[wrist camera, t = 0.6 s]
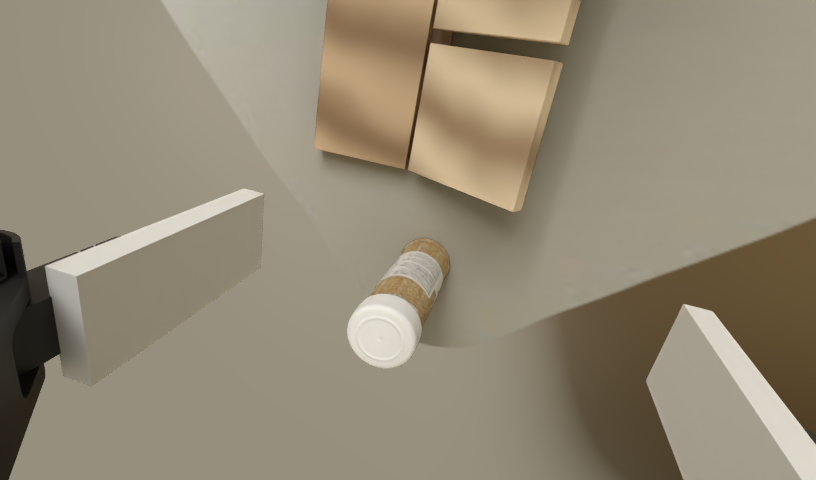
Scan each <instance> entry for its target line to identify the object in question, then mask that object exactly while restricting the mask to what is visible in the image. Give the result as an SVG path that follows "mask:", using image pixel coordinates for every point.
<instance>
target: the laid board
mask: <svg viewBox="0 0 816 480" xmlns="http://www.w3.org/2000/svg"><path fill="white" fill-rule="evenodd" d="M437 4H438V0H328V2H327V12H326V23H325V34H324V44H323V55H322V66H321V76H320V87H319V98H318V108H317V119H316V130H315V140H314V148H315V149H319V150H324V151H328V152H332V153H336V154H341V155H345V156H349V157H354V158H358V159H362V160H367V161H371V162H375V163H379V164H384V165H388V166H392V167H397V168H401V169H406V168H407V167H409V162H410V156H411V151H412V145H413V139H414V134H415V128H416V122H417V117H418V111H419V106H420V100H421V94H422V89H423V83H424V77H425V72H426V66H427V60H428V55H429V49H430V44H431V43H434V44H441V45H448V46H451V41H452V36H453V32H450V31H442V30H439V29H435V28H433V27H434V21H435V15H436V10H437Z"/></svg>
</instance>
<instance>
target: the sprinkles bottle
mask: <svg viewBox="0 0 816 480" xmlns="http://www.w3.org/2000/svg"><path fill="white" fill-rule="evenodd" d="M449 265H450V262H449V257H448V255H447V253H446V251H445V249H444V248H443V247H442V246H441V245H440V244H438V243H437V242H435V241H433V240H430V239H417V240H414V241H412V242H410V243H409V244H408V245H407V246H406V247H405V248H404V249H403V251H402V253H401V256H400V257H398V258H397V259H396V261H395V262H394V263H393V264H392V266H391V267H390V268H389V270H388V271H387V272H386V274H385V275H384V276H383V278H382V279H381V280H380V282H379V283H378V284H377V285H376V287H375V289H374V291H373V292H372V294H371V295H370V296H369V297H368V298H366V299H365V300H364V301H363V302H361V304H360V305H359V306H358V307H357V309H356V310H355V312H354V313H353V315H352V316H351V318H350V320H349V323H348V327H347V336H348V340H349V343H350V345H351V347H352V349H353V351H354V352H355V353H356V354H357V356H359V357H360V358H361V359H362V360H363V361H365V362H366V363H368V364H370V365H372V366H375V367H379V368H395V367H398V366H400V365H402V364H404V363H406V362H407V361H408V360H409V359H410V358H411V357H412V355H413V353H414V352H415V350H416V347H417V345H418V343H419V340H420V338H421V334H422V327H423V324H424V322H425V320H426V318H427V316H428V313H429V312H430V309H431V307H432V305H433V304H434V302H435V300H436V298H437V295H438V293H439V291H440V289H441V286H442V282H443V280H444V278H445V277H446V275H447V273H448V271H449Z"/></svg>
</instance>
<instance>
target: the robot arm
mask: <svg viewBox="0 0 816 480" xmlns="http://www.w3.org/2000/svg"><path fill="white" fill-rule="evenodd" d="M263 207H264V194H263V193H259V192H255V191H251V190H247V189H241V190H239V191H236V192H233V193H231V194H228V195H226V196H223V197H221V198H218V199H215V200H213V201H211V202H208V203H205V204H203V205H200V206H198V207H195V208H192V209H190V210H187V211H185V212H182V213H180V214H177V215H174V216H172V217H169V218H167V219H164V220H162V221H159V222H156V223H154V224H152V225H149V226H146V227H144V228H141V229H138V230H136V231H133V232H131V233H128V234H126V235H123V236H119V237H114V238H111V239H109V240H107V241H104V242H101V243H99V244H96V246H95V247H94V246H91V247H88V248H86V249H83V250H81V251H80V253H78V252H75V253H73V254H70V255H68V256H65V257H62V258H60V259H57V260H55V261H52V262H50V263H47V264H44V265H42V266H39V267H37V268H34V269H31V270H29V271H26V265H25V260H24V255H23V249H22V244H21V239H20V236H18V235H17V234H15V233H13V232H9V231H5V230H0V480H9V477H10V474H11V471H12V468H13V466H14V463H15V460H16V457H17V455H18V451H19V449H20V446H21V443H22V441H23V438H24V435H25V432H26V429H27V427H28V424H29V421H30V418H31V416H32V413H33V410H34V407H35V404H36V402H37V399H38V396H39V393H40V390H41V388H42V385H43V382H44V379H45V367H44V363H45V362H46V361H48V360H50V359H52V358H53V357H55V356H57V355H58V354H60V360H61V366H62V372H63V376H65V377H68V378H70V379H73V380H76V381H78V382H81V383H84V384H86V385H89V386H93V385H94V384H96V383H97V382H99V381H100V380H101V379H103V378H105V377H106V376H107V375H109V374H110V373H112V372H113V371H114V370H116V369H117V368H119V367H120V366H121V365H123V364H124V363H126V362H127V361H129V360H130V359H131V358H133V357H134V356H136V355H137V354H138V353H140V352H141V351H143V350H144V349H146V348H147V347H148V346H150V345H151V344H153V343H154V342H155V341H157V340H158V339H160V338H161V337H163V336H164V335H165V334H167V333H168V332H169V331H171V330H172V329H174V328H175V327H177V326H178V325H180V324H181V323H182V322H184V321H185V320H187V319H188V318H189V317H191V316H192V315H194V314H195V313H196V312H198V311H199V310H200V309H202V308H203V307H205V306H206V305H208V304H209V303H211V302H212V301H213V300H215V299H216V298H218V297H219V296H221V295H222V294H223V293H225V292H226V291H227V290H229V289H230V288H232V287H233V286H235V285H236V284H237V283H239V282H240V281H242V280H243V279H244V278H246V277H247V276H249V275H250V274H252V273H253V272H254V271H256V270H257V269H259V268H260V267H261V251H262V250H261V249H262V229H263V209H264V208H263ZM646 382H647V385H648V387H649V390H650V392H651V395H652V398H653V400H654V403H655V406H656V408H657V411H658V414H659V416H660V419H661V422H662V424H663V427H664V430H665V432H666V435H667V437H668V440H669V443H670V445H671V448H672V451H673V453H674V456H675V458H676V461H677V463H678V466H679V469H680V471H681V474H682V477H683V479H684V480H816V435H815V434H814V433H813V432H812V431H809V430H806V429H803V428H802V426H801V425H800V424H799V422H798V421H797V420H796V418H795V417H794V416H793V415H792V413H791V412H790V411H789V410H788V408H787V407H786V405H785V404H784V403H783V402H782V400H781V399H780V398H779V397H778V395H777V394H776V393H775V391H774V390H773V389H772V387H771V386H770V385H769V384H768V382H767V381H766V380H765V379H764V377H763V376H762V375H761V373H760V372H759V371H758V369H757V368H756V367H755V365H754V364H753V363H752V362H751V360H750V359H749V358H748V356H747V355H746V354H745V353H744V351H743V350H742V349H741V348H740V346H739V345H738V344H737V342H736V341H735V340H734V338H733V337H732V336H731V335H730V333H729V332H728V331H727V329H726V328H725V327H724V326H723V324H722V323H721V322H720V320H719V319H718V318H717V316H716V315H715V314H714V313H713V312H712V311H709V310H705V309H701V308H697V307H694V306H690V305H686V304H683V306H682V308H681V310H680V312H679V314H678V316H677V318H676V320H675V322H674V324H673V326H672V328H671V330H670V332H669V335H668V337H667V339H666V341H665V343H664V345H663V347H662V349H661V351H660V353H659V355H658V357H657V359H656V361H655V363H654V365H653V367H652V370H651V371H650V374H649V376H648V378H647V380H646Z"/></svg>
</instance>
